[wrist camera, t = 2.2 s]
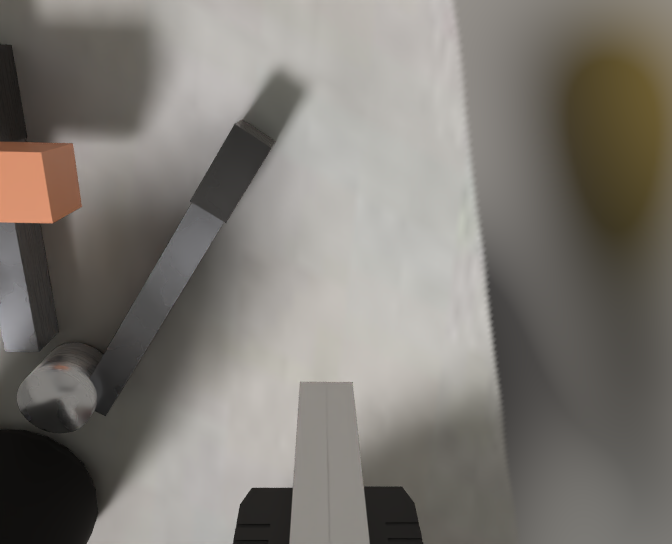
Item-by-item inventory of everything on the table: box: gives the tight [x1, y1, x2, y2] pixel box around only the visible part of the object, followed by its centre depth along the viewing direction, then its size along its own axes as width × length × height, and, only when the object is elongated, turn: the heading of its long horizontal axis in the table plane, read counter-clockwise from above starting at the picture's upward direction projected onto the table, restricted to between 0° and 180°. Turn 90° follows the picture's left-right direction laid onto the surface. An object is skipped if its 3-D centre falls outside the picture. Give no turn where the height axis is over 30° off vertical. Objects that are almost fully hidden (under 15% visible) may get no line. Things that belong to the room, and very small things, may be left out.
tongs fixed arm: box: [0, 44, 59, 352], centre depth 27 cm, size 16×2×3 cm, turn 178°
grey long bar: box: [17, 120, 276, 433], centre depth 29 cm, size 20×5×3 cm, turn 146°
